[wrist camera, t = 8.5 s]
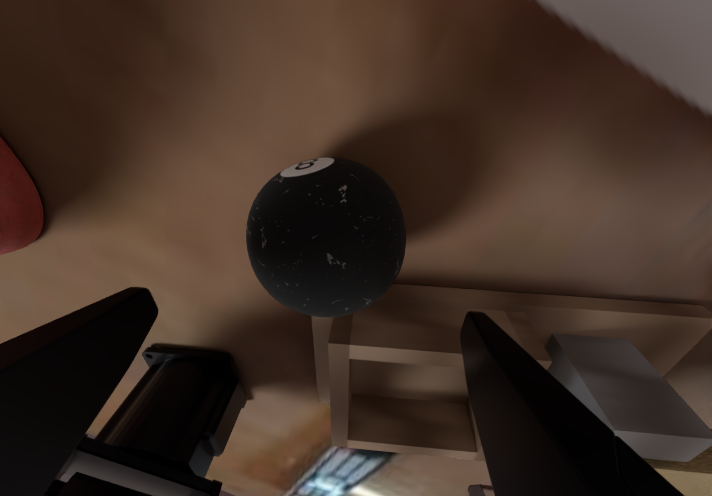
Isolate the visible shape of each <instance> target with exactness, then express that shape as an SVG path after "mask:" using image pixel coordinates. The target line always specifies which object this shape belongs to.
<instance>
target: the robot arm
mask: <svg viewBox="0 0 712 496" xmlns="http://www.w3.org/2000/svg"><path fill="white" fill-rule="evenodd" d="M157 315H158V307H157V305H156V303H155V301H154V299H153V297H152V295H151V292H150V291H149V290H148V289H147V288H143V287H130V288H127V289H125V290H122V291H120V292H118V293H116V294H113V295H111V296H109V297H106V298H104V299H102V300H100V301H97V302H95V303H93V304H90V305H88V306H86V307H84V308H81V309H79V310H77V311H74V312H72V313H70V314H68V315H65V316H63V317H61V318H58V319H56V320H54V321H52V322H49V323H47V324H45V325H42V326H40V327H38V328H36V329H33V330H31V331H29V332H26V333H24V334H22V335H19V336H17V337H15V338H13V339H10V340H8V341H6V342H3V343H1V344H0V496H219V493H220V490H221V486H222V482H220V481H217V480H213V481H211V480H208V479H206V478H205V476H206V473H207V471H208V469H209V466H210V464H211V462H212V460H213V457H214V456H217V457H219V456H220V455H221V454H222V453H223V451H224V449H225V446H226V444H227V442H228V439H229V437H230V434H231V432H232V430H233V427H234V425H235V422H236V420H237V417H238V415H239V413H240V410H241V408H244V407H245V404H246V398H245V394H244V391H243V388H242V385H241V382H240V380H239V376H238V373H237V370H236V367H235V364H234V361H233V358H232V357H231V356H230V355H228V354H225V353H214V352H202V351H190V350H178V349H166V348H155V347H148V348H146V349H145V351H144V352H143V353H142V356H143V357H144V359H145V361H146V362H147V364H148V366H149V369H148V370H147V372H146V373H145V374H144V376H143V377H142V378H141V379H140V381H139V382H138V383H137V385H136V386H135V387H134V388H133V390H132V391H131V392H130V394H129V395H128V396H127V397H126V399H125V400H124V401H123V403H122V404H121V405H120V406H119V408H118V409H117V410H116V412H115V413H114V414H113V415H112V417H111V418H110V419H109V421H108V422H107V423H106V424H105V426H104V427H103V428H102V430H101V431H100V432H99V433H98V435H97V436H96V437H95V439H92V438H89V437H87V436H88V435H87V434H85V433H86V432H87V430H88V429H89V427H90V426H91V424H92V423H93V421H94V420H95V418H96V417H97V415H98V414H99V412H100V411H101V409H102V408H103V406H104V405H105V403H106V402H107V400H108V399H109V397H110V396H111V394H112V393H113V391H114V390H115V388H116V387H117V385H118V384H119V382H120V381H121V379H122V378H123V376H124V375H125V373H126V372H127V370H128V368H129V367H130V365H131V364H132V362H133V360H134V358H135V357H136V355H137V353H138V351H139V349H140V347H141V345H142V344H143V342H144V340H145V338H146V336H147V334H148V333H149V331H150V329H151V327H152V325H153V323H154V322H155V320H156V318H157ZM460 343H461V350H462V356H463V363H464V370H465V376H466V383H467V389H468V395H469V399H470V403H471V407H472V411H473V415H474V419H475V423H476V426H477V430H478V434H479V438H480V441H481V445H482V449H483V453H484V457H485V460H486V464H487V468H488V472H489V476H490V479H491V483H492V487H493V491H494V495H495V496H685V495H683V494H682V493H681V492H680V491H679V490H678V489H676V488H675V487H674V486H673V485H672V484H671V483H670V482H668V481H667V480H666V479H665V478H664V477H663V476H662V475H661V474H660V473H658V472H657V471H656V470H655V469H654V468H653V467H652V466H651V465H650V464H648V463H647V462H646V461H645V460H644V459H643V458H642V457H641V456H639V455H638V454H637V453H636V452H635V451H634V450H633V449H632V448H631V447H630V446H629V445H628V444H626V443H625V442H624V441H623V440H622V439H621V438H620V437H619V436H615V433H614V432H613V431H612V430H611V429H610V428H609V427H608V426H607V425H606V424H605V423H604V422H602V421H601V420H600V419H599V418H598V417H597V416H596V415H595V414H594V413H593V412H592V411H591V410H589V409H588V408H587V407H586V406H585V405H584V404H583V403H582V402H581V401H580V400H579V399H578V398H576V397H575V396H574V395H573V394H572V393H571V392H570V391H569V390H568V389H567V388H566V387H565V386H564V385H562V384H561V383H560V382H559V381H558V380H557V379H556V378H555V377H554V376H553V375H552V374H551V373H549V372H548V371H547V370H546V369H545V368H544V367H543V366H542V365H541V364H540V363H539V362H538V361H536V360H535V359H534V358H533V357H532V356H531V355H530V354H529V353H528V352H527V351H526V350H525V349H523V348H522V347H521V346H520V345H519V344H518V343H517V342H516V341H515V340H514V339H513V338H512V337H510V336H509V335H508V334H507V333H506V332H505V331H504V330H503V329H502V328H501V327H500V326H499V325H497V324H496V323H495V322H494V321H493V320H492V319H491V318H490V317H489V316H488V315H487V314H485V313H484V312H479V311H468V312H467V313H466V316H465V319H464V322H463V325H462V328H461V331H460ZM65 473H66V474H70V475H73V476H72V477H71V478H70V479H69V481H68V482H63V481H60V479H61V478H62V476H63V475H64V474H65Z"/></svg>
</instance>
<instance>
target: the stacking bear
mask: <svg viewBox="0 0 712 496" xmlns="http://www.w3.org/2000/svg"><path fill="white" fill-rule="evenodd" d="M43 219H44V216H43V207H42V203H41V200H40V196H39V194H38V192H37V189H36V187H35V185H34V183H33V181H32V180H31V178H30V176H29V174H28V173H27V171H26V170H25V168H24V167H23V166H22V164H21V163H20V161H19V160H18V159H17V157H16V156H15V155H14V153H13V152H12V151H11V149H10V148H9V146H8V145H7V144H6V143H5V142H4V140H3V139H2V138H1V137H0V255H1V254H5V253H9V252H12V251H16V250H18V249H21V248H24V247H26V246H28V245H29V244H31V243H32V242H33V241H34V240H35V239H36V238H37V237H38V236H39V234H40V232H41V229H42V226H43Z"/></svg>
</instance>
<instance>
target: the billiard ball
mask: <svg viewBox="0 0 712 496" xmlns="http://www.w3.org/2000/svg"><path fill="white" fill-rule="evenodd" d="M246 242H247V250H248V255H249V259H250V262H251V265H252V268H253V270H254V272H255V274H256V276H257V278H258V280H259V281H260V283H261V284H262V286H263V287H264V288H265V289H266V290H267V291H268V293H269V294H270V295H271V296H272V297H274V298H275V299H276V300H277V301H279V302H280V303H281V304H283V305H285V306H286V307H288V308H290V309H292V310H294V311H296V312H299V313H302V314H305V315H310V316H316V317H327V318H328V317H339V316H344V315H348V314H352V313H355V312H358V311H360V310H362V309H364V308H366V307H368V306H370V305H371V304H373V303H374V302H376V301H377V300H378V299H379V298H381V297H382V296H383V295H384V294H385V293H386V292H387V291H388V289H389V288H390V287H391V286H392V284H393V283H394V281H395V279H396V278H397V276H398V273H399V271H400V269H401V266H402V263H403V259H404V255H405V246H406V232H405V224H404V219H403V215H402V211H401V208H400V206H399V203H398V201H397V199H396V197H395V195H394V193H393V192H392V190H391V189H390V187H389V186H388V185H387V183H386V182H385V181H384V180H383V179H382V178H381V177H380V176H379V175H378V174H377V173H375V172H374V171H373V170H371V169H370V168H368V167H366V166H364V165H362V164H360V163H357V162H354V161H351V160H347V159H341V158H317V159H311V160H307V161H303V162H300V163H297V164H295V165H293V166H291V167H288V168H286V169H285V170H283V171H281V172H280V173H278V174H277V175H276V176H274V177H273V178H272V179H271V180H269V181H268V182H267V183H266V184H265V185H264V187H263V188H262V189H261V191H260V192H259V193H258V195H257V197H256V198H255V200H254V202H253V204H252V207H251V209H250V212H249V216H248V221H247V229H246Z"/></svg>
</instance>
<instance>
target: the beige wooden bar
mask: <svg viewBox="0 0 712 496" xmlns="http://www.w3.org/2000/svg"><path fill="white" fill-rule="evenodd" d="M710 430H711V431H712V429H710ZM643 459H644V460H645V461H646V462H647V463H648V464H650V465H651V466H652V467H653V468H654V469H655V470H656V471H657V472H658V473H660V474H661V475H662V476H663V477H664V478H665V479H666V480H667V481H668V482H670V483H671V484H672V485H673V486H674V487H675V488H676V489H678V490H679V491H680V492H681V493H682V494H683V495H685V496H712V446H710V447H709V448H707V449H706V450H704V451H703V452H701V453H700V454H698V455H697V456H696V457H694V458H693V459H691V460H690V461H688V462H680V461H670V460H659V459H649V458H643Z"/></svg>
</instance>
